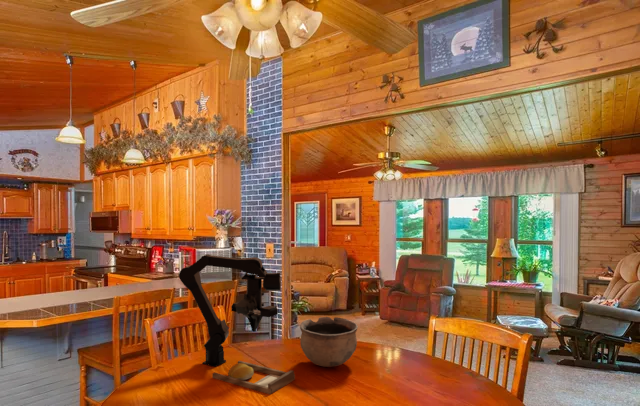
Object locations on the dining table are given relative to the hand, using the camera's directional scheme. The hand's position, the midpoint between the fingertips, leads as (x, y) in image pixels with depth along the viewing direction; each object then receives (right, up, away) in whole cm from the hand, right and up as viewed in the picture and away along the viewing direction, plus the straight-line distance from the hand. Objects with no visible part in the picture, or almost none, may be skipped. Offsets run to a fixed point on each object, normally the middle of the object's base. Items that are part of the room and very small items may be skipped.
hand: (254, 331), depth 161 cm
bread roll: (+1, -12, -14) cm, 19 cm away
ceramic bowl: (+29, -12, -1) cm, 31 cm away
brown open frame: (+2, -12, -15) cm, 19 cm away
